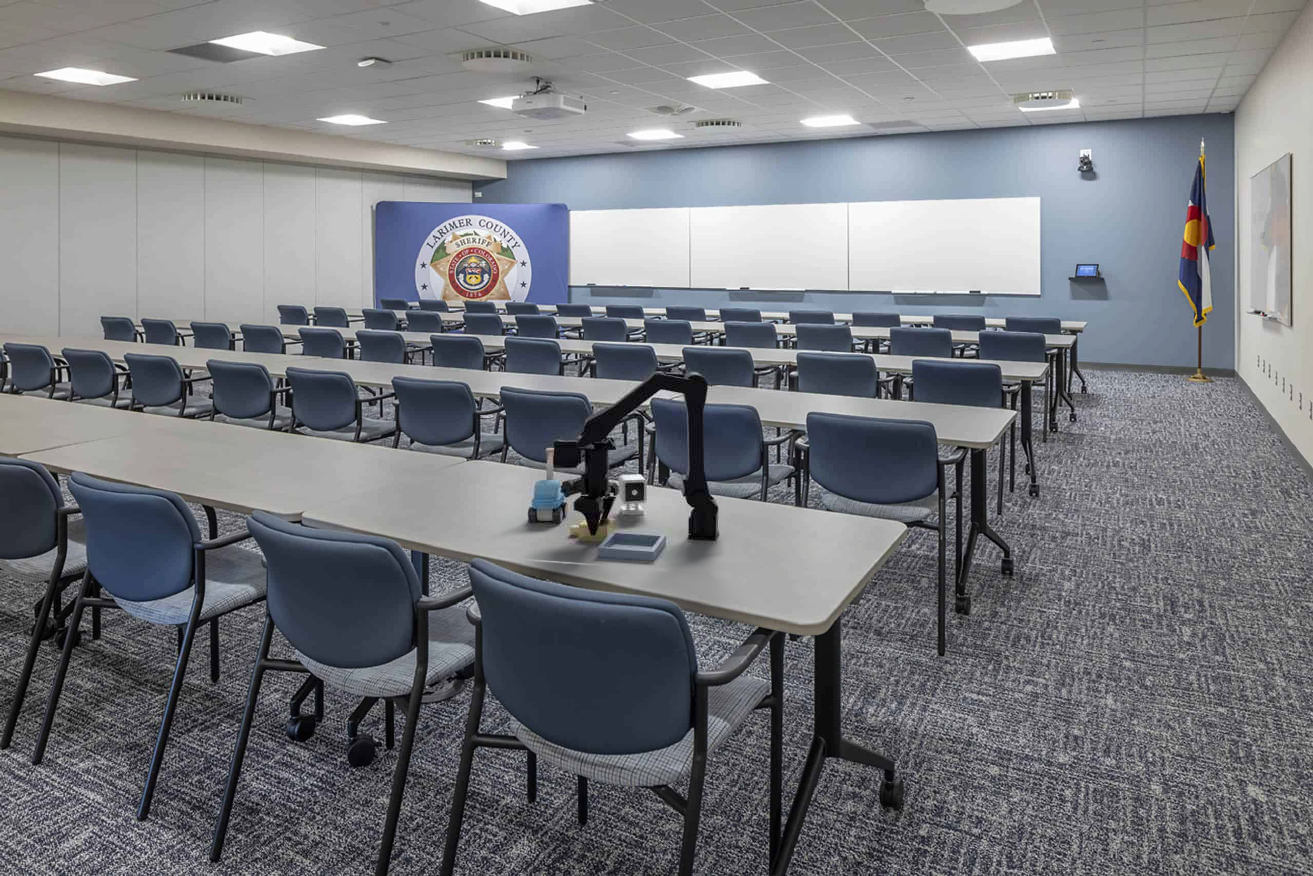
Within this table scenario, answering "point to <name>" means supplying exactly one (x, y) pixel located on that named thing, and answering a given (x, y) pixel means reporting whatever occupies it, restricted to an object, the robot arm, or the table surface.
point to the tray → (631, 546)
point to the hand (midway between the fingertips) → (597, 531)
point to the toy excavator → (548, 497)
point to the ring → (601, 532)
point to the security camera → (632, 493)
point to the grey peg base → (591, 540)
